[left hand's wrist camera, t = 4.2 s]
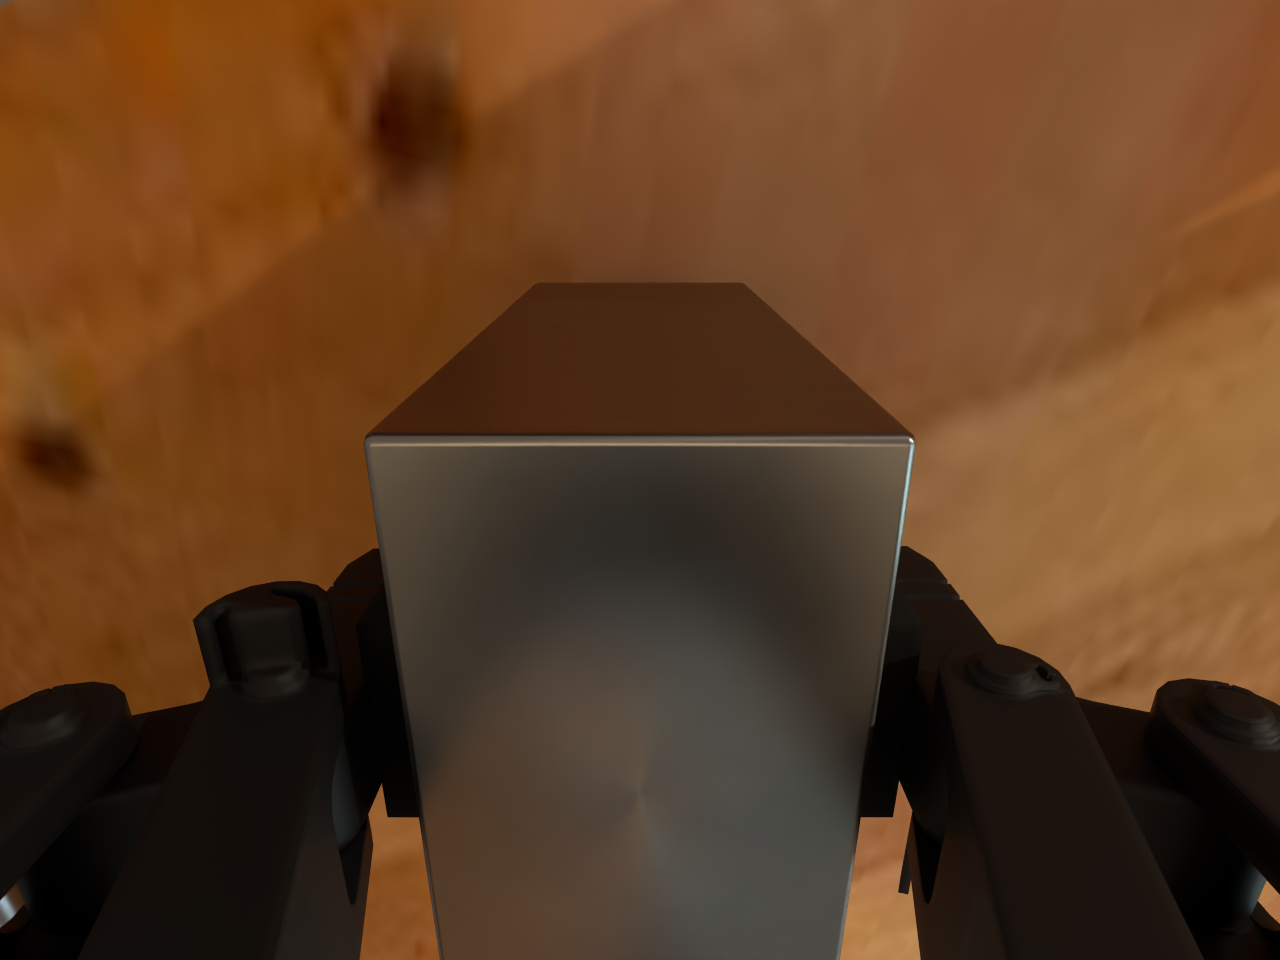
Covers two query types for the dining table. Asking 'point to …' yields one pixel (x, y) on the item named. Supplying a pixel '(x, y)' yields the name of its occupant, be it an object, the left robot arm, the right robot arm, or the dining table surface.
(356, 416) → the dining table surface
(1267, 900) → the dining table surface
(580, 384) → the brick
